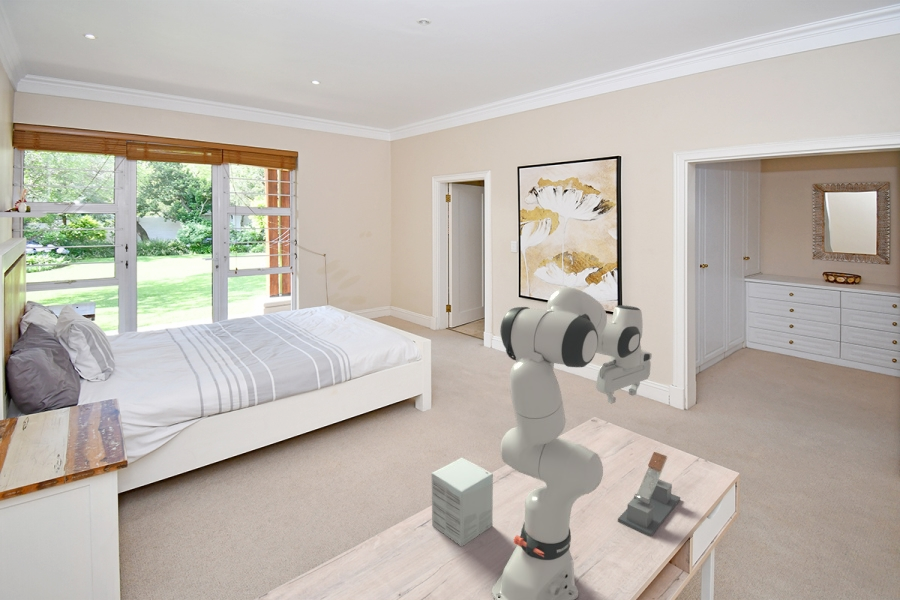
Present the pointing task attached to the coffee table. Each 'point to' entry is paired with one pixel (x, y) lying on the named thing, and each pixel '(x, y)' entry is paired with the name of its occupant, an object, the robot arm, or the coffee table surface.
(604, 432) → the coffee table surface
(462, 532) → the supplement box
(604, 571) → the coffee table surface
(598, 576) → the coffee table surface
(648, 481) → the bar
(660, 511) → the base
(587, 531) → the coffee table surface
